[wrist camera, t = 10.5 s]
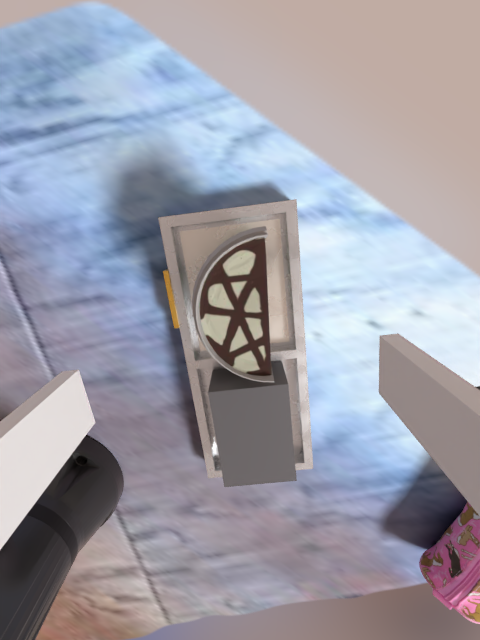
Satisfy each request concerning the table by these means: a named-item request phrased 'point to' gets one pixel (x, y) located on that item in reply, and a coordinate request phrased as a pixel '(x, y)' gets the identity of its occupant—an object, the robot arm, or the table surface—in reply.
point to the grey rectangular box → (252, 427)
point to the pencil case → (457, 565)
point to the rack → (284, 307)
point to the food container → (236, 305)
